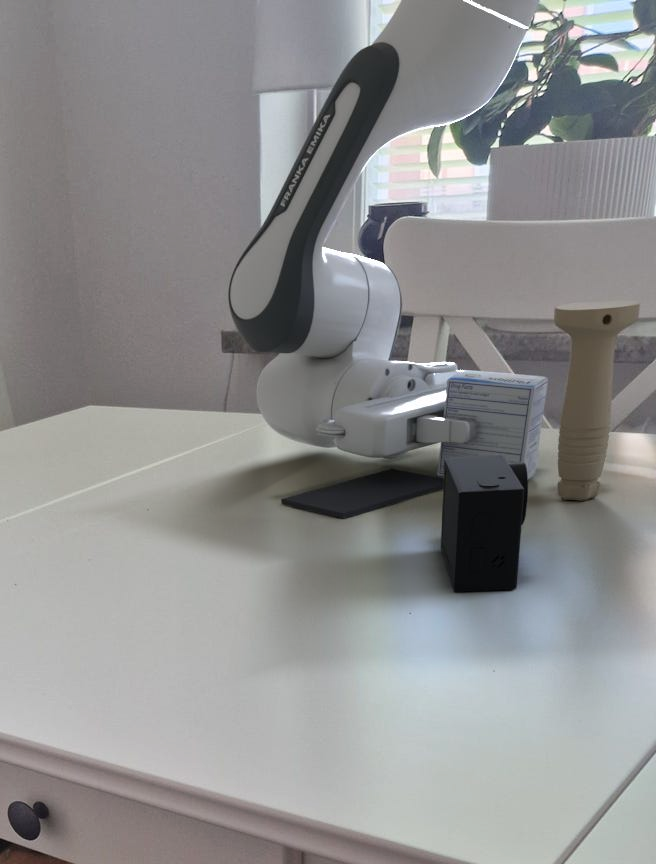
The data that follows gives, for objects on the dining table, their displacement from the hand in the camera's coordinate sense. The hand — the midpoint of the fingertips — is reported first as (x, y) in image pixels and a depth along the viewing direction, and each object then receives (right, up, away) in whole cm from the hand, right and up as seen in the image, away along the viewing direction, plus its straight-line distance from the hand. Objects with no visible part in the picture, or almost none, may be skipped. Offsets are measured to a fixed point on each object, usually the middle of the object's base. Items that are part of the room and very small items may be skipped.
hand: (498, 424), depth 103 cm
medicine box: (0, -4, +3) cm, 5 cm away
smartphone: (-11, -6, +2) cm, 13 cm away
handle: (+6, -8, -4) cm, 10 cm away
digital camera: (-6, -18, -18) cm, 26 cm away
